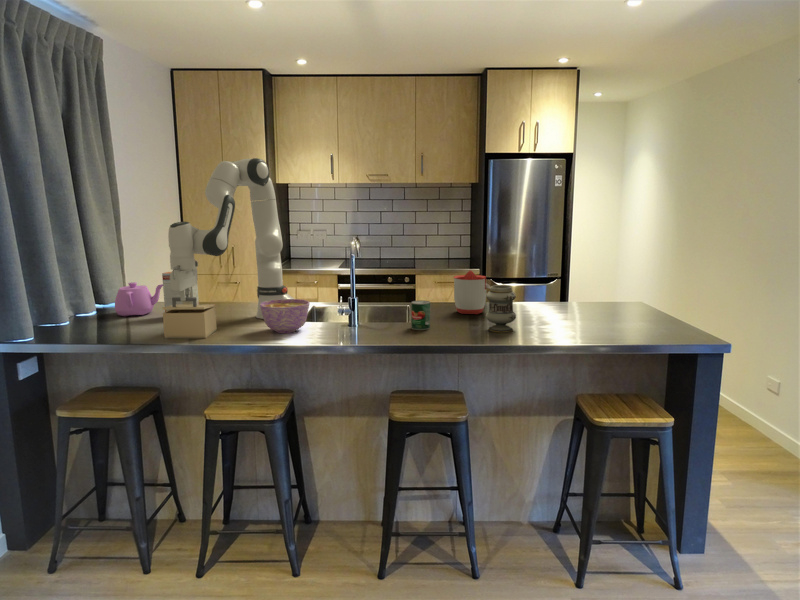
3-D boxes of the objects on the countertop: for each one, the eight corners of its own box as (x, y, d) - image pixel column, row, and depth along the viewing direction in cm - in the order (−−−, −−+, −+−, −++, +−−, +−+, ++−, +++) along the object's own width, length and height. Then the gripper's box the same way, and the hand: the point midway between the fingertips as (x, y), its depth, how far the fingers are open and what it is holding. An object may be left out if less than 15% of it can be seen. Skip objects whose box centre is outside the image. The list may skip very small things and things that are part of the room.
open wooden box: (216, 330, 240) (215, 306, 238) (205, 338, 226) (204, 313, 225) (177, 330, 240) (176, 306, 238) (164, 338, 226) (162, 313, 224)
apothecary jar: (485, 326, 245) (486, 283, 242) (515, 326, 243) (516, 284, 240) (485, 332, 233) (486, 288, 230) (516, 333, 231) (517, 288, 228)
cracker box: (200, 316, 270) (197, 271, 266) (194, 318, 264) (191, 273, 260) (171, 315, 271) (168, 271, 268) (165, 318, 265) (161, 272, 262)
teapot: (109, 320, 262) (106, 287, 260) (120, 311, 282) (117, 280, 280) (163, 317, 267) (161, 285, 265) (170, 309, 287) (168, 279, 285)
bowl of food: (267, 325, 248) (266, 299, 246) (314, 325, 248) (313, 298, 246) (255, 336, 229) (254, 307, 227) (306, 336, 228) (305, 307, 226)
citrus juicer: (489, 316, 265) (490, 272, 262) (451, 315, 268) (452, 272, 265) (490, 309, 281) (491, 268, 277) (454, 308, 284) (455, 268, 280)
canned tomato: (410, 329, 239) (410, 303, 237) (412, 325, 247) (412, 300, 245) (429, 330, 238) (429, 303, 236) (431, 326, 245) (431, 300, 244)
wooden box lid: (215, 306, 238) (214, 295, 238) (204, 309, 224) (203, 297, 224) (176, 306, 238) (175, 295, 238) (162, 309, 224) (162, 297, 224)
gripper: (181, 267, 214) (184, 304, 216) (199, 261, 234) (201, 295, 236) (164, 267, 213) (167, 304, 216) (183, 261, 234) (186, 295, 236)
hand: (185, 299), depth 226 cm, fingers open, 2 cm apart
